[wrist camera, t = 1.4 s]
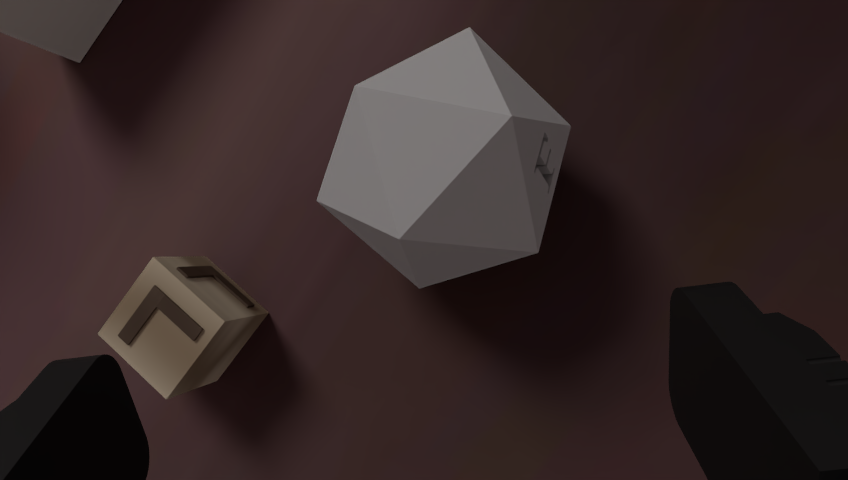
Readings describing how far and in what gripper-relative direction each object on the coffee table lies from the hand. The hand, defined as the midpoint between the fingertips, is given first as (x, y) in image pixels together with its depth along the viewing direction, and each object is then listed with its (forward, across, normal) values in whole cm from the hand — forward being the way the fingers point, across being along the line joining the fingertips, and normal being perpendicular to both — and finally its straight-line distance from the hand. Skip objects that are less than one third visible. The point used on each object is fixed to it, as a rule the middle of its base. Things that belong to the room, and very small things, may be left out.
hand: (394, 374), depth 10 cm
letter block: (+18, +10, +9) cm, 23 cm away
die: (+19, -2, +4) cm, 19 cm away
